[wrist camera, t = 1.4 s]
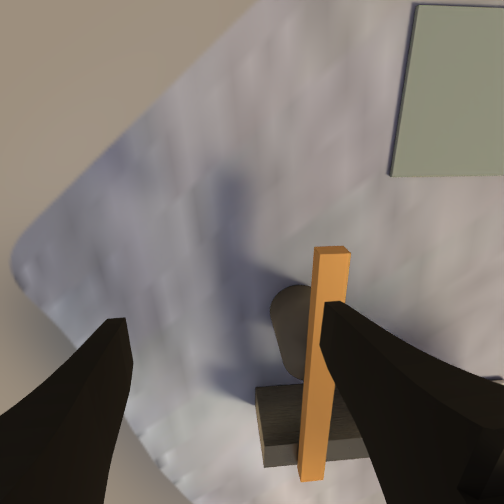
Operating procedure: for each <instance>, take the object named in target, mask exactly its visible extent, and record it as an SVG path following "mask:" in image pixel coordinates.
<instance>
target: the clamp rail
mask: <svg viewBox="0 0 504 504" xmlns="http://www.w3.org/2000/svg"><path fill="white" fill-rule="evenodd" d="M303 387H304V384H295V385H281V386H268V387H255V408H256V415H257V422H258V429H259V436H260V443H261V450H262V458H263V465H264V468H266V467H277V466H287V465H297V464H298V451H299V438H300V426H301V413H302V400H303ZM368 457H369V454H368V452H367V449H366V447H365V444H364V442H363V439H362V437H361V434H360V432H359V430H358V428H357V426H356V423H355V421H354V419H353V418H352V416H351V414H350V412H349V410H348V408H347V406H346V404H345V402H344V400H343V398H342V396H341V394H340V392H339V390H338V389H337V387H336V385H335V388H334V396H333V404H332V412H331V421H330V429H329V437H328V445H327V453H326V462H327V461H337V460H347V459H357V458H368Z"/></svg>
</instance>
